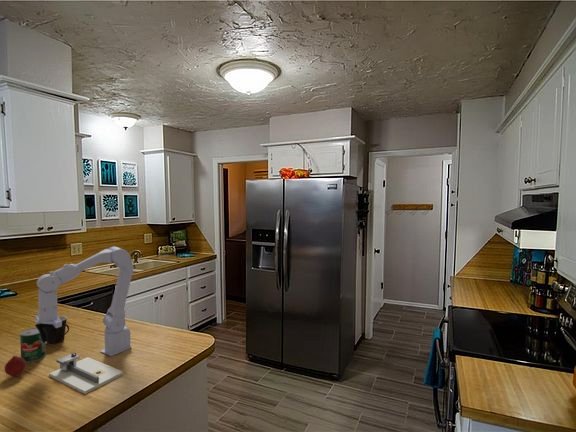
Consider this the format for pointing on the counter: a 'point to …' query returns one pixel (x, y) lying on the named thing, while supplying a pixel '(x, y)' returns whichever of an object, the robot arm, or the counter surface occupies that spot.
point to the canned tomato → (32, 345)
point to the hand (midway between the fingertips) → (48, 342)
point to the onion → (15, 366)
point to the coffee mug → (61, 330)
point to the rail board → (86, 375)
